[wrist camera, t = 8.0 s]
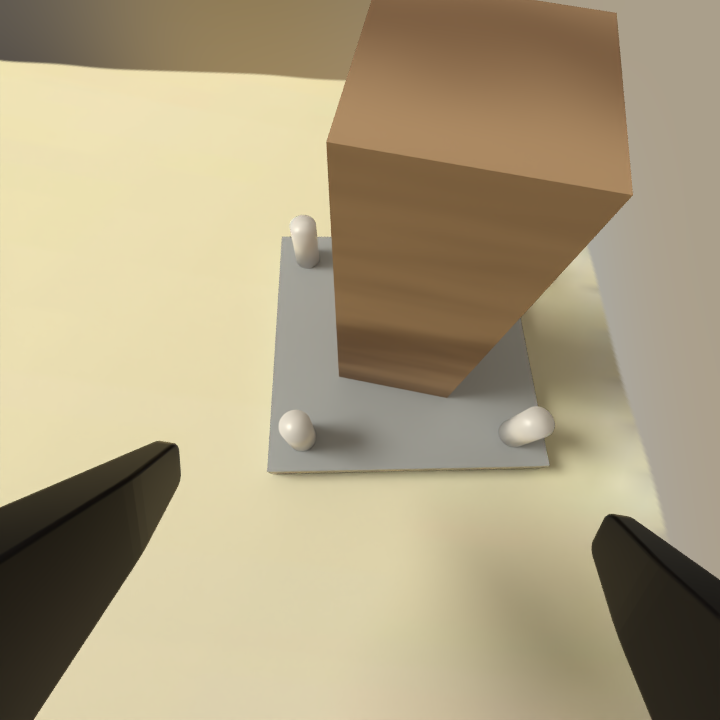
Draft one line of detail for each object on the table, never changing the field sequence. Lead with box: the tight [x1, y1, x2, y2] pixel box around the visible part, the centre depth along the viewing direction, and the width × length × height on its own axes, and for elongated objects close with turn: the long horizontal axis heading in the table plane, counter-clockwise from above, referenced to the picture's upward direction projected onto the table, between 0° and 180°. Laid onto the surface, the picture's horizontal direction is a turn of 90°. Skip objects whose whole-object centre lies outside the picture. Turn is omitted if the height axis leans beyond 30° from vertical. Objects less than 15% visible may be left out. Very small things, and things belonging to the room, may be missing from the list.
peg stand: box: [267, 215, 555, 474], centre depth 18 cm, size 12×12×4 cm
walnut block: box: [326, 0, 633, 398], centre depth 13 cm, size 5×5×12 cm
